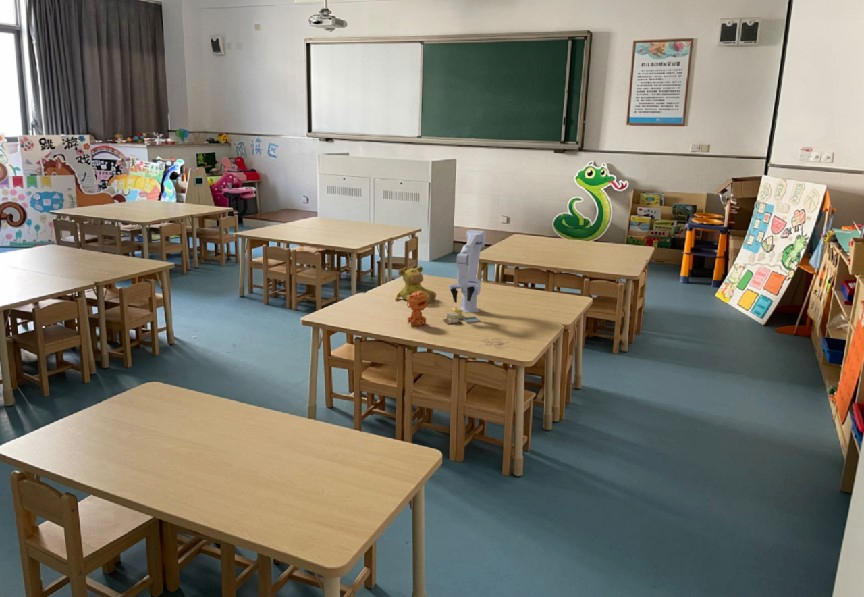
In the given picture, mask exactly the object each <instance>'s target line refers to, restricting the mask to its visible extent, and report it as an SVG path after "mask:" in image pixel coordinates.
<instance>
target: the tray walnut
mask: <svg viewBox="0 0 864 597" xmlns="http://www.w3.org/2000/svg"><path fill="white" fill-rule="evenodd" d="M442 321H443V322H444V323H445V324H447V325H448V326H450V325H461V324H463V321H461V319H458V322H455V323H448V322H447V318H443V319H442Z"/></svg>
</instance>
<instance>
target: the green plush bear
mask: <svg viewBox="0 0 864 597" xmlns="http://www.w3.org/2000/svg"><path fill="white" fill-rule="evenodd" d="M423 271H424V267H423V266H422V265H421V266H418V267H415V266H414V265H412V266H411V267H410V266H408V267H406V266H405V267H403V268H400V269H399V270H398V272H397V273H398V274H397V275H398V276H401V277H402V280H403V282H404V283H405V284H404V286H403V287H402V288H401V289H400V290H399V292H398V293H397V294H396V296H395V301H396V302H398V301H400V299H401V297H402V300H406V301H407V299H408V297H409V296H410V295H412V293H414V292H418V291H421V290H422V291H421V292H423V293H424V294H426V296H427V299H426V300H424V301H429V302H428V304H430V302H433V301H435V300H436V297H437V293H436V292H435V291H433V290H431V289H429V288H426V287H424V286H422V283H423V281H424V275H423V274H422V272H423ZM408 301H409V299H408Z"/></svg>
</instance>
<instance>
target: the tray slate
mask: <svg viewBox="0 0 864 597" xmlns="http://www.w3.org/2000/svg"><path fill="white" fill-rule="evenodd" d="M461 320H463V322H465V323H466V324H472V323H481V321H482V320H481V319H479V318H478V317H476V316H467V317H466V316H465V317H463V318H462V319H461Z"/></svg>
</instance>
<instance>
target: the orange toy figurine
mask: <svg viewBox="0 0 864 597" xmlns="http://www.w3.org/2000/svg"><path fill="white" fill-rule="evenodd" d="M421 291H422V290H421ZM421 291H418V292H414V293H412V295H410V296H409V297H408V299H409V301H408V299H407V300H406V306H407V307H408V309H411V315H410V316H408V317H407V325H408V324H410V325H411V326H412V325H413V326H412V327H415V326H417V327H421V325H422V326H423V325H426V324H427V317H426V316H423V312H422V311H424V310H425V309H426V308H427V306H428V304H429V303H430V302H429V301H424V300H426V299H427V296H426V294H424V293H423V292H421ZM428 302H429V303H428Z"/></svg>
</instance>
